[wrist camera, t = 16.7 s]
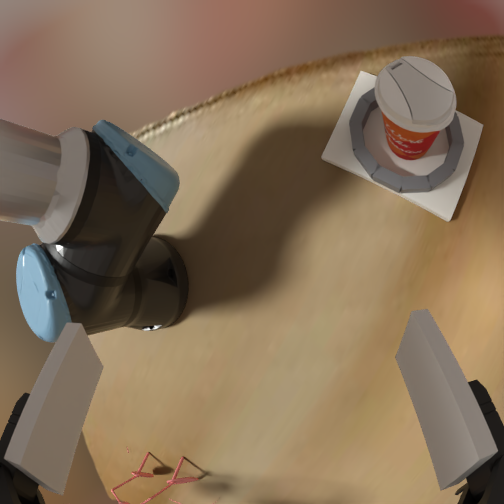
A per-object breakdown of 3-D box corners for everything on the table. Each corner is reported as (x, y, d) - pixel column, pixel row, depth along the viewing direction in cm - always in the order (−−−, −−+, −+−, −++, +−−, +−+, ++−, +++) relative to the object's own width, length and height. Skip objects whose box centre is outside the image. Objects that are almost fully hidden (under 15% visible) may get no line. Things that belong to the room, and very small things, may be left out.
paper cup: (366, 132, 37) (355, 77, 24) (411, 102, 34) (417, 39, 21) (404, 181, 35) (414, 145, 22) (449, 149, 33) (476, 101, 20)
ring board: (323, 160, 40) (317, 151, 37) (361, 76, 38) (359, 61, 34) (447, 222, 34) (454, 218, 31) (480, 129, 32) (488, 117, 28)
